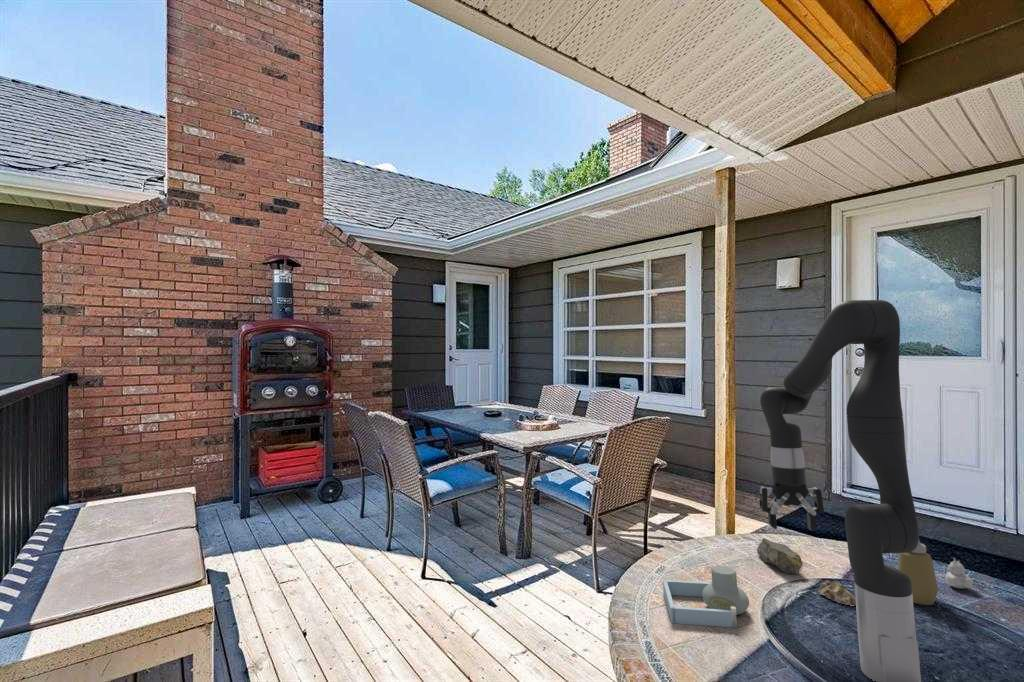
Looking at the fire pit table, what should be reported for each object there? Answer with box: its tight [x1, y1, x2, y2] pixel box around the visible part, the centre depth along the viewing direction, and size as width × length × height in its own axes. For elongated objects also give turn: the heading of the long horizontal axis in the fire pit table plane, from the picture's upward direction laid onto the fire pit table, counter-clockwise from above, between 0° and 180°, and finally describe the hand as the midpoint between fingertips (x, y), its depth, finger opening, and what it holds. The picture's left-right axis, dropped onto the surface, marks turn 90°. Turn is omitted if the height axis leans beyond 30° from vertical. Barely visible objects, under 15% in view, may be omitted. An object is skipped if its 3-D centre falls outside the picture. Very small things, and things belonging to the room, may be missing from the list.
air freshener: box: [701, 565, 750, 616], centre depth 121 cm, size 11×8×10 cm
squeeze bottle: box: [897, 540, 939, 606], centre depth 123 cm, size 8×8×18 cm
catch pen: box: [662, 579, 738, 629], centre depth 122 cm, size 16×15×4 cm
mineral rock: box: [818, 580, 856, 606], centre depth 126 cm, size 11×4×8 cm
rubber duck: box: [945, 557, 974, 590], centre depth 129 cm, size 5×7×8 cm
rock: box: [756, 537, 804, 575], centre depth 147 cm, size 17×7×10 cm
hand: (792, 529), depth 120 cm, fingers open, 8 cm apart
